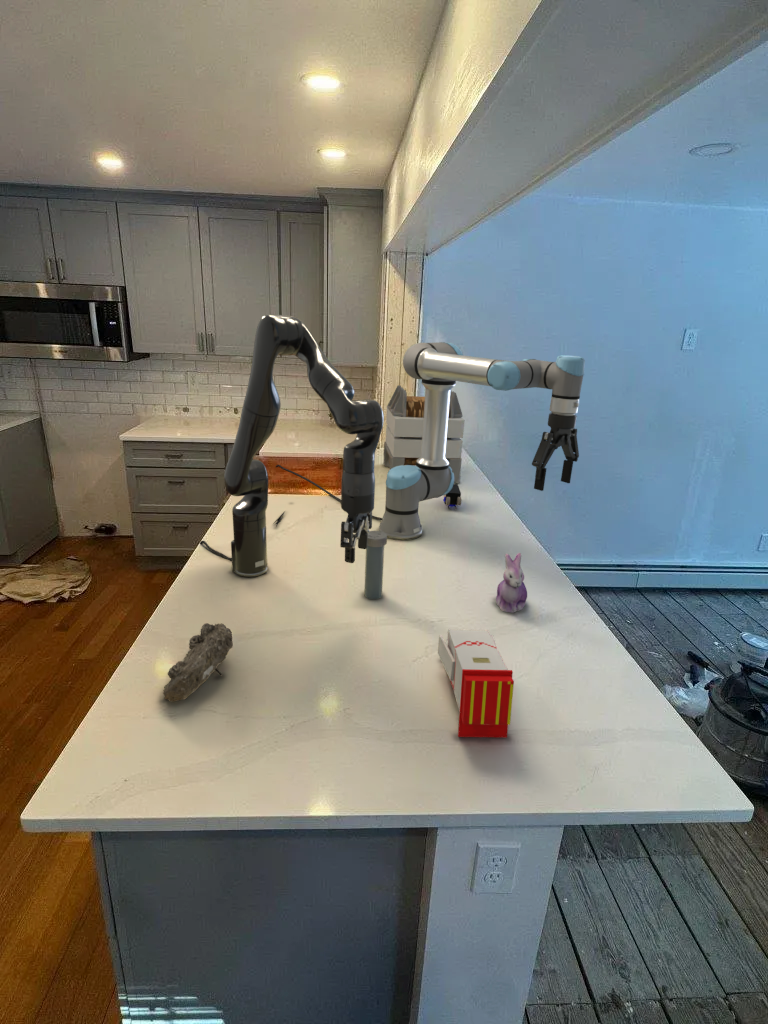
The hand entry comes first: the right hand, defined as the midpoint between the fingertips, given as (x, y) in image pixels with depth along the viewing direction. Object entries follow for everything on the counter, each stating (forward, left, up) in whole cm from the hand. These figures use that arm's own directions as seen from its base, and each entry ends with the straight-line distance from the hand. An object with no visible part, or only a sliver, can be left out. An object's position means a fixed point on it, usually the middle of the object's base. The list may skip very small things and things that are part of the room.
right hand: (552, 485), depth 166 cm
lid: (-19, -51, -10) cm, 55 cm away
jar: (-19, -51, -28) cm, 61 cm away
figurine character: (-59, +24, -28) cm, 70 cm away
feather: (-87, -38, -28) cm, 99 cm away
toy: (+26, -62, -28) cm, 72 cm away
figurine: (+8, -24, -28) cm, 38 cm away
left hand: (-8, -66, -8) cm, 67 cm away
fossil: (-13, -102, -28) cm, 107 cm away
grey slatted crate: (-101, +46, -28) cm, 115 cm away
